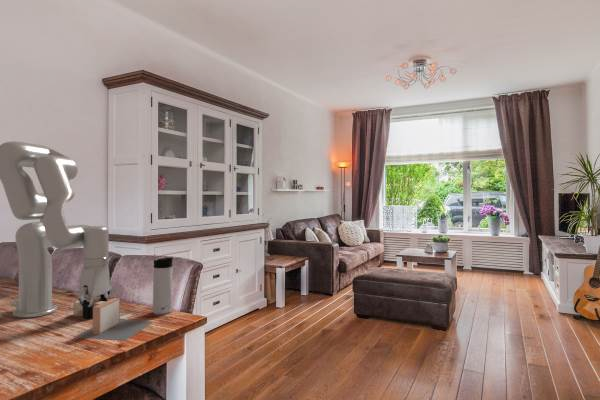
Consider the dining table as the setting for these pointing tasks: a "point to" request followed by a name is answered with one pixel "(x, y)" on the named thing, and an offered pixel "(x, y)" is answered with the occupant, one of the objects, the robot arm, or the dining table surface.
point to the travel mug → (162, 286)
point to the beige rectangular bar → (79, 309)
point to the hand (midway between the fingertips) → (95, 314)
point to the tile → (106, 315)
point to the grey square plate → (117, 331)
